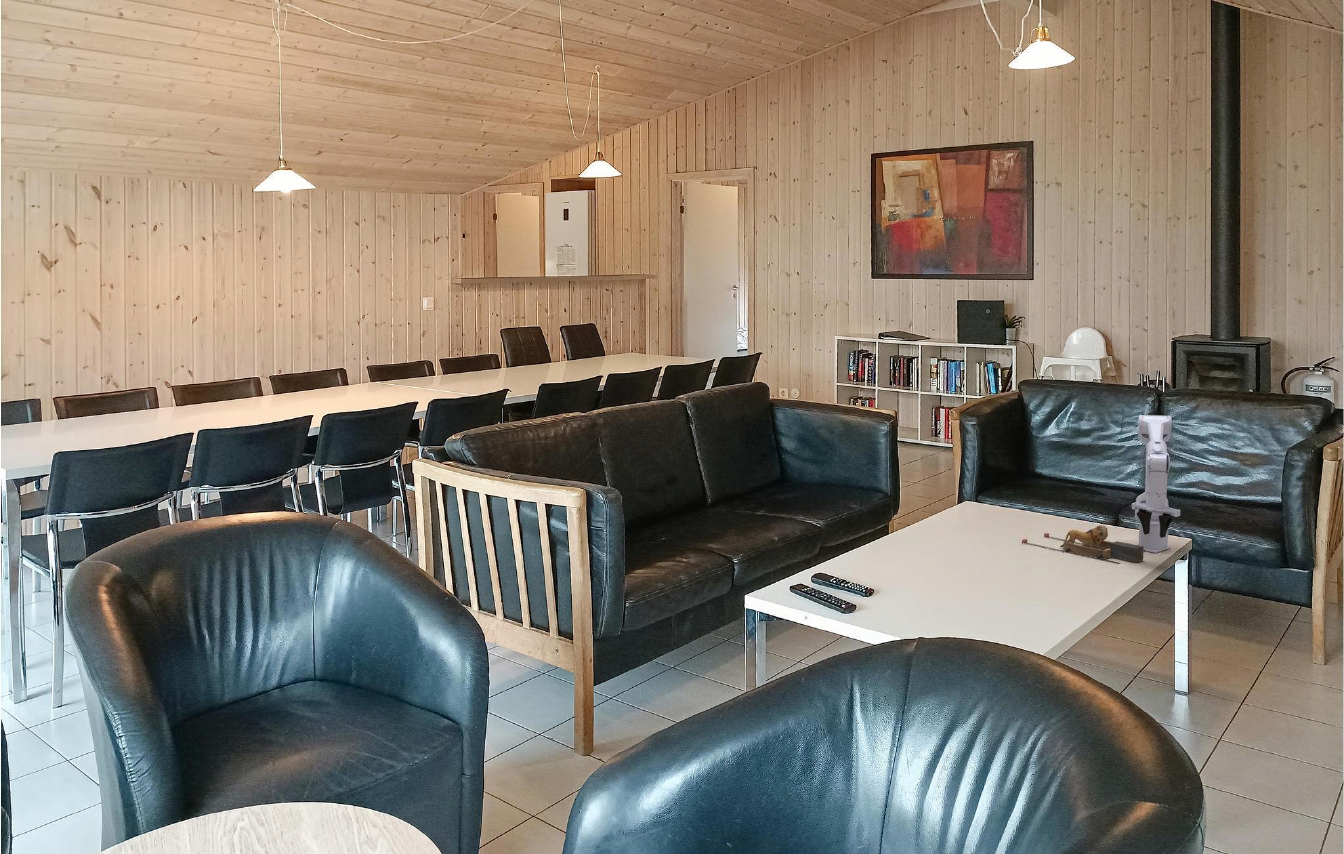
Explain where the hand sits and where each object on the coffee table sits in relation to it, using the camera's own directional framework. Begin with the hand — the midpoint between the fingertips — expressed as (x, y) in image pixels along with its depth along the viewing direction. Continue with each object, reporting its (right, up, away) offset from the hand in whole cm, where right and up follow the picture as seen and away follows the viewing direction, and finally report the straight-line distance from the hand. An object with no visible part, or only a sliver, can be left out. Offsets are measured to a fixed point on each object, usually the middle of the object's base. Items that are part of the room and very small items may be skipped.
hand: (1154, 535), depth 328 cm
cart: (-9, -7, +14) cm, 18 cm away
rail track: (-15, -7, +21) cm, 27 cm away
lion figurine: (-14, -7, +20) cm, 25 cm away
